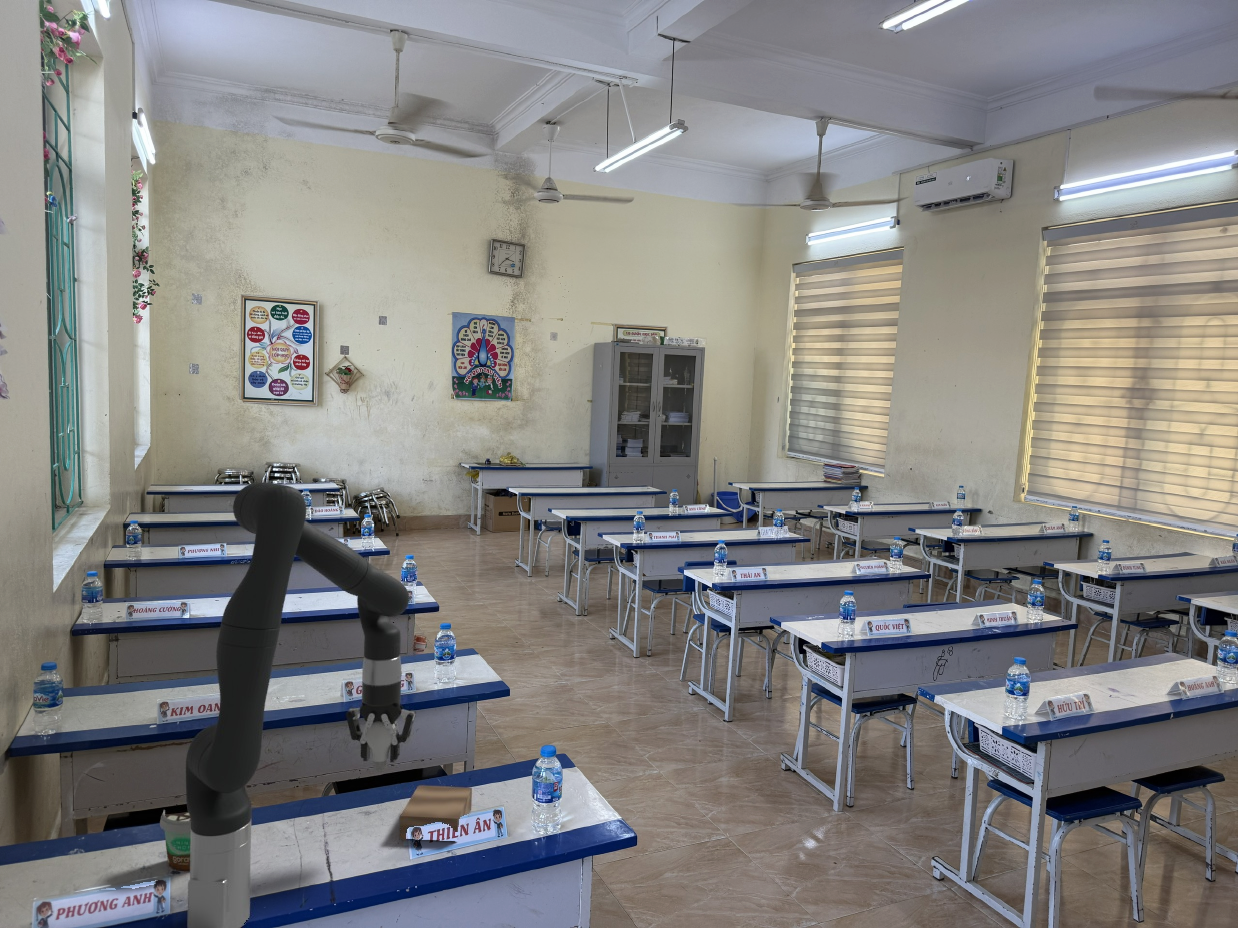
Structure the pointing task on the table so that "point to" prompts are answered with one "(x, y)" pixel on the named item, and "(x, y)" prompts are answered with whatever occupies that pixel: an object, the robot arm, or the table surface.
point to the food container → (177, 839)
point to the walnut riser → (435, 807)
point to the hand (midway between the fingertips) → (380, 759)
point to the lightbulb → (379, 744)
